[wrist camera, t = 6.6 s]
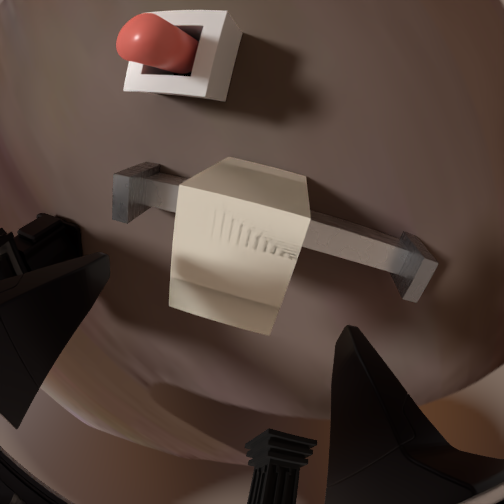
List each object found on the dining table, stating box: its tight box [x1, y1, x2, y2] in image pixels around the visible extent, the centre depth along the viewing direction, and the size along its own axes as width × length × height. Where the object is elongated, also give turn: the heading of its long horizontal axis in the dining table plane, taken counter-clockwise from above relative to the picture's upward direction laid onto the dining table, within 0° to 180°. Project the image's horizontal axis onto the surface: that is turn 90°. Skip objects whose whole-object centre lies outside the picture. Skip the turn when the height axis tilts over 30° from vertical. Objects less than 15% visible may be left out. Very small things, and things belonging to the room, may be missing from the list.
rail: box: [112, 162, 439, 303], centre depth 16 cm, size 3×20×4 cm, turn 77°
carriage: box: [169, 157, 311, 336], centre depth 15 cm, size 6×5×8 cm
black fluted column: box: [245, 429, 317, 504], centre depth 25 cm, size 8×8×20 cm
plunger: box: [116, 13, 199, 74], centre depth 10 cm, size 2×2×5 cm
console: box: [123, 10, 243, 102], centre depth 12 cm, size 5×5×4 cm
